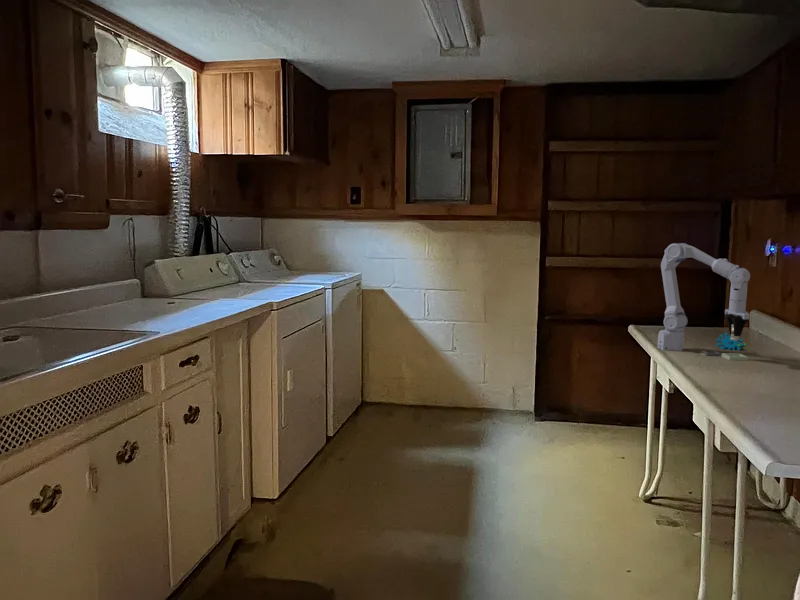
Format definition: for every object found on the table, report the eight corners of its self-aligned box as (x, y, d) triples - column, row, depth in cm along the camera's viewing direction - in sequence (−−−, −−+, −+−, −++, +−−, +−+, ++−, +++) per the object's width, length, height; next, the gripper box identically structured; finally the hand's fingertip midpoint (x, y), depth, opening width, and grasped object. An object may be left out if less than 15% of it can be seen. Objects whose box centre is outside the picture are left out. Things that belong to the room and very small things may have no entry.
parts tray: (729, 362, 256) (729, 356, 256) (721, 359, 262) (721, 353, 262) (747, 363, 257) (747, 356, 256) (739, 359, 263) (739, 353, 262)
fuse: (732, 340, 258) (733, 325, 257) (729, 339, 260) (730, 324, 260) (739, 340, 257) (741, 325, 257) (736, 339, 260) (737, 324, 260)
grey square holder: (705, 358, 263) (705, 353, 263) (698, 355, 269) (699, 350, 269) (722, 359, 263) (722, 353, 263) (715, 356, 269) (715, 350, 269)
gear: (714, 347, 279) (719, 328, 283) (712, 355, 283) (718, 337, 288) (743, 354, 273) (748, 335, 278) (741, 362, 278) (746, 343, 283)
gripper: (758, 302, 250) (755, 338, 252) (738, 298, 264) (735, 332, 266) (739, 302, 250) (736, 338, 251) (720, 297, 264) (717, 332, 266)
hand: (735, 335), depth 259 cm, fingers closed on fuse, 3 cm apart
